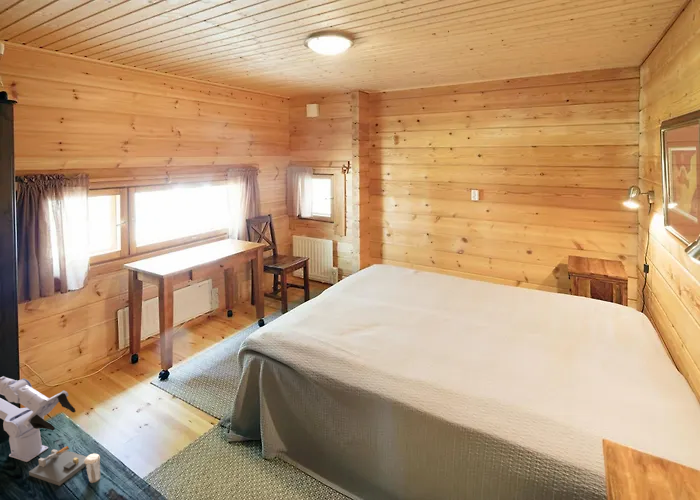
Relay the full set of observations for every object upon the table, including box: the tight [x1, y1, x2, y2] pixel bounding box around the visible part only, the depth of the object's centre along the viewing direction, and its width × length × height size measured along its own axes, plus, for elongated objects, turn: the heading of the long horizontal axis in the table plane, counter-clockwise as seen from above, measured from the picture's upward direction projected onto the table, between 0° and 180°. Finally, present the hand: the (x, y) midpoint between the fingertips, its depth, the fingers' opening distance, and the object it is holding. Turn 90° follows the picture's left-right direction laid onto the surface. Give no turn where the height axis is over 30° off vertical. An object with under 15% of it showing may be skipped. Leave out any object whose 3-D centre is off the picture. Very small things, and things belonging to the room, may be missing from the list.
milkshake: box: [84, 453, 101, 484], centre depth 139 cm, size 4×5×10 cm
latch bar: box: [43, 445, 70, 460], centre depth 145 cm, size 10×3×1 cm, turn 72°
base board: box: [28, 448, 87, 487], centre depth 145 cm, size 14×12×4 cm
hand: (63, 419), depth 142 cm, fingers open, 7 cm apart
